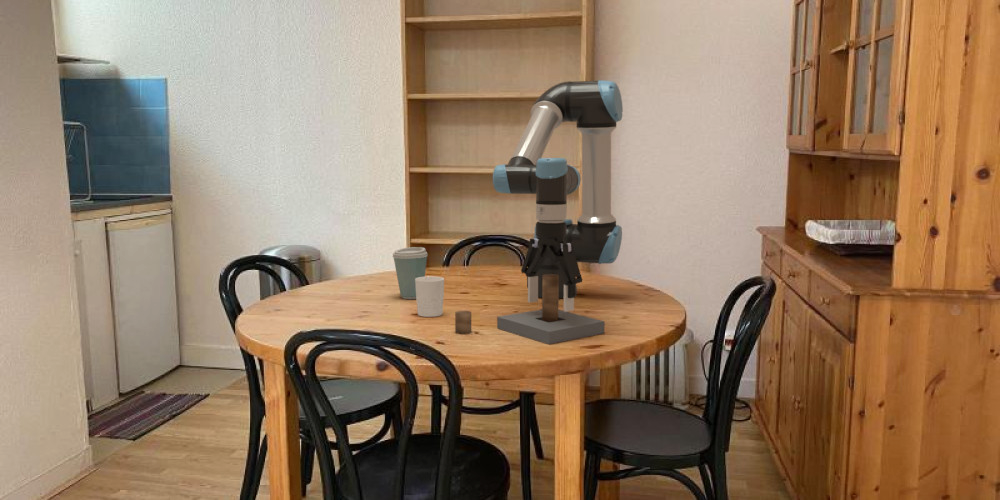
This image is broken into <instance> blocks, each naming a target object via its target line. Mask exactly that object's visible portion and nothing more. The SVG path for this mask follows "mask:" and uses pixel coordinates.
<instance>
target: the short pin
mask: <svg viewBox="0 0 1000 500" xmlns="http://www.w3.org/2000/svg"><path fill="white" fill-rule="evenodd" d="M454 313H455V314H454V315H455V317H454V318H455V319H454V322H455V324H454V325H455V326H454V327H455V328H454V331H455V333H456V334H459V335H469V334H471V333H472V311H470V310H457V311H455V312H454Z"/></svg>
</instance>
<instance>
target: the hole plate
mask: <svg viewBox="0 0 1000 500" xmlns="http://www.w3.org/2000/svg"><path fill="white" fill-rule="evenodd" d="M496 322H497V324H496V326H497V327H496V328H497V329H498V330H502V331H504V332H508V333H511V334H515V335H518V336H519V337H523V338H527V339H530V340H534V341H537V342H540V343H542V344H543V343H544V344H547V345H552V344H557V343H562V342H567V341H572V340H573V341H574V340H578V339H581V338H582V339H583V338H587V337H588V338H589V337H593V336H597V335H604V334H605V324H606V323H605V322H606V321H605V320H600V319H597V318H593V317H589V316H585V315H582V314H581V315H580V314H577V313H573V312H571V311H567V312H564V310H561V309H558V321H555V322H545V321H542V308H541V309H535V310H529V311H523V312H518V313H512V314H505V315H500V316H497V318H496Z"/></svg>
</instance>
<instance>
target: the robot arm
mask: <svg viewBox="0 0 1000 500" xmlns="http://www.w3.org/2000/svg"><path fill="white" fill-rule="evenodd" d="M622 99H623V98H622V94H621V90H620V88H619V86H618V84H617V83H616V82H615V81H613V80H602V79H601V80H600V79H599V80H579V81H577V80H576V81H562V82H559V83H556V84H555V85H553V86H551V87H550V88H548V89H547V90H545V91H544V92H543V93H542V94H541V95H540V96H538V98H537V99H536V100H535V101H534V103H533V105H532V107H531V109H530V114H529V115H530V119H529V121H528V123H527V124H526V127H525V128H524V131H523V133H522V135H521V137H520V139H519V141H518V143H517V144H516V147H515V149H514V151H513V154H512V155H511V157H510V159H509V161H508V162H507V164H505V163H503V164H497V165H496V166H495V167H494V169H493V172H492V184H493V188H494V191H496V192H497V193H499V194H509V195H511V194H512V195H515V194H516V195H517V194H518V195H521V194H522V195H535V220H537V222H536V223H535V226H534V236H533V238H530V239H529V244H528V249H527V251H526V254H525V258H524V260H523V263H522V265H521V266H522V267H521V269H520V271H521V273H522V274H525V276H526V287H527V303H536V302H539V298H541V299H542V286H543V275H545V274H555V275H559V299H563V311H564V312H573V311H575V298H576V296H577V295H578V287H577V284H580V283H582V282H583V278H582V274H581V272H580V268H579V267H580V266H579V265H578V263H585V264H586V263H587V264H598V265H601V264H606V265H607V264H612V263H615V261H616V260H617V258H618V257H619V253H620V249H621V245H622V238H623V231H622V230H623V228H622V226H621V225H619V224H617V219H616V217H615V216H614V215H613V213H612V133H613V132H614V131H615V130H616V128H617V122H621V120H622V118H623V112H624V110H623V101H622ZM566 122H572V123H573V122H576V129H577V130H578V131H579V132H580V133H581V174H580V171H579V170H578V169H577V168H576V167H574V166H573V165H570V164H568V161H567V159H566V158H564V157H543V155H544V153H545V150H546V148H547V147H548V144H549V143H550V140H551V137H552V135H553V133H554V131H555V130H556V129H558V128H559V127H560V126H561V124H562V123H566ZM580 184H581V190H582V191H581V193H582V194H581V197H582V198H581V210H582V211H581V212H582V213H581V215H580V216H579V217H577V221H576V223H577V224H575V223H574V222H573V219H572V218H567V216H568V214H567V213H568V210H567V209H568V206H567V203H568V202H567V200H568V199H567V196H568V195H571V194H573V193H574V192H575V191H576V190H578V188H579V187H580Z"/></svg>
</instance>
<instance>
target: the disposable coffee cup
mask: <svg viewBox="0 0 1000 500" xmlns="http://www.w3.org/2000/svg"><path fill="white" fill-rule="evenodd" d="M428 256H429V255H428V252H427V249H426V248H425V247H421V246H419V247H418V246H416V247H415V246H412V247H404V248H400V249H396V250H394V252H393V253H392V258H393V261H394V266H395V271H396V277H397V278H396V279H397V283H398V288H399V294H400V296H401V299H403V300H417V299H416V285H415V279H416V278H418V277H425V276H426V269H427V259H428Z"/></svg>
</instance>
